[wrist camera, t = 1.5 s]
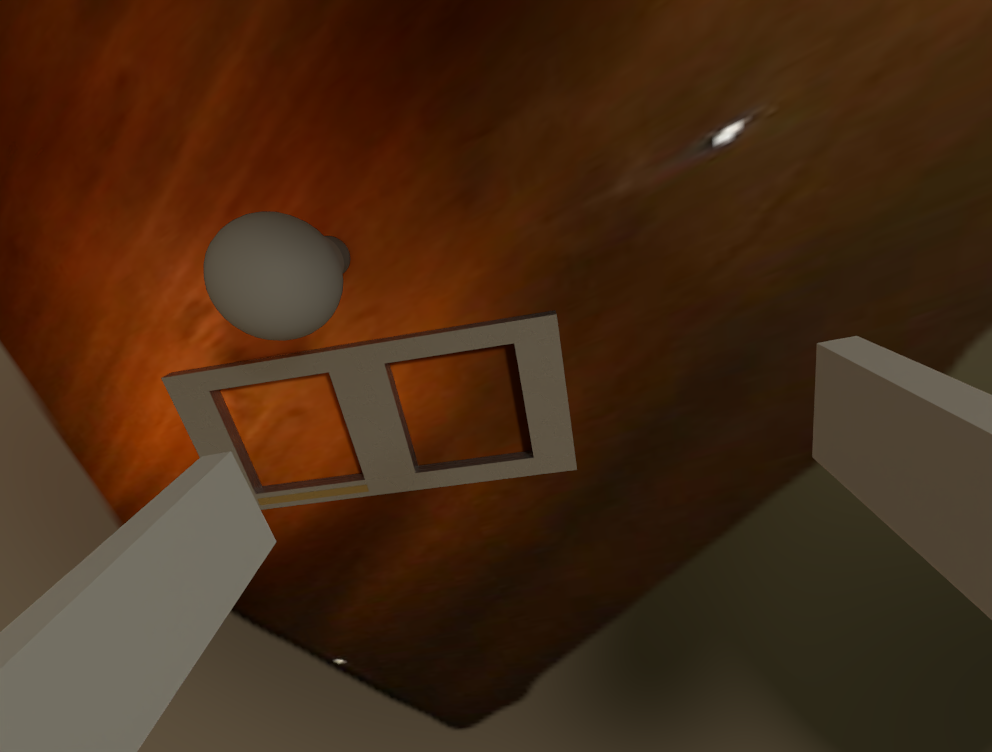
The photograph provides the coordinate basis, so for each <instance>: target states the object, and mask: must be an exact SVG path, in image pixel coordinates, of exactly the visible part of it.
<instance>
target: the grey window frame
mask: <svg viewBox="0 0 992 752" xmlns="http://www.w3.org/2000/svg"><path fill="white" fill-rule="evenodd" d="M513 343H514V345H515V350H516V356H517V362H518V368H519V374H520V380H521V386H522V391H523V397H524V403H525V409H526V415H527V421H528V427H529V432H530V438H531V444H532V450H533V451H526V452H518V453H511V454H503V455H496V456H488V457H481V458H473V459H466V460H458V461H450V462H443V463H435V464H428V465H420V466H418V463H417V460H416V456H415V452H414V449H413V445H412V442H411V438H410V435H409V431H408V428H407V424H406V421H405V417H404V414H403V410H402V407H401V403H400V399H399V396H398V392H397V389H396V385H395V382H394V378H393V375H392V371H391V368H390V364H389V363H391V362H398V361H404V360H410V359H417V358H423V357H430V356H436V355H442V354H449V353H455V352H461V351H468V350H474V349H481V348H487V347H493V346H500V345H506V344H513ZM327 372H329V374H330V377H331V380H332V383H333V386H334V389H335V392H336V395H337V398H338V401H339V404H340V407H341V410H342V413H343V416H344V419H345V422H346V425H347V428H348V431H349V433H350V436H351V439H352V442H353V445H354V448H355V451H356V454H357V457H358V460H359V463H360V466H361V469H362V472H363V473H360V474H352V475H345V476H337V477H329V478H322V479H314V480H307V481H299V482H292V483H284V484H277V485H269V486H262V485H261V483H260V481H259V479H258V476H257V474H256V472H255V470H254V467H253V465H252V463H251V460H250V458H249V456H248V454H247V451H246V449H245V447H244V445H243V442H242V440H241V438H240V436H239V433H238V431H237V429H236V427H235V424H234V422H233V420H232V418H231V415H230V413H229V411H228V408H227V406H226V404H225V402H224V399H223V397H222V395H221V393H220V390H219V389H225V388H231V387H238V386H244V385H251V384H257V383H263V382H270V381H276V380H283V379H289V378H295V377H302V376H308V375H314V374H321V373H327ZM161 379H162V381H163V383H164V385H165V387H166V389H167V391H168V393H169V395H170V397H171V399H172V401H173V403H174V405H175V407H176V409H177V411H178V413H179V415H180V417H181V420H182V422H183V424H184V426H185V428H186V430H187V432H188V434H189V436H190V438H191V440H192V442H193V444H194V446H195V448H196V450H197V452H198V454H199V456H200V458H201V457H202V456H208V455H213V454H219V453H224V452H229V451H231V452H232V454H233V456H234V458H235V460H236V462H237V464H238V466H239V468H240V470H241V472H242V474H243V476H244V478H245V480H246V482H247V484H248V486H249V488H250V490H251V492H252V494H253V496H254V498H255V500H256V502H257V504H258V506H259V508H260V510H262V509H270V508H278V507H286V506H294V505H302V504H310V503H318V502H326V501H333V500H341V499H349V498H357V497H365V496H373V495H381V494H389V493H397V492H404V491H412V490H420V489H428V488H436V487H444V486H452V485H460V484H467V483H475V482H483V481H491V480H499V479H507V478H515V477H523V476H531V475H538V474H546V473H554V472H562V471H570V470H577V467H576V459H575V452H574V444H573V436H572V429H571V421H570V414H569V406H568V398H567V391H566V383H565V375H564V368H563V360H562V353H561V345H560V337H559V330H558V322H557V314H556V311H555V310H554V311H548V312H542V313H536V314H529V315H523V316H517V317H511V318H505V319H499V320H492V321H486V322H480V323H474V324H468V325H462V326H456V327H449V328H443V329H437V330H431V331H425V332H419V333H412V334H406V335H400V336H394V337H388V338H382V339H375V340H369V341H363V342H357V343H351V344H345V345H338V346H332V347H326V348H320V349H314V350H308V351H301V352H295V353H289V354H283V355H277V356H271V357H264V358H258V359H252V360H246V361H240V362H234V363H227V364H221V365H215V366H209V367H203V368H197V369H190V370H184V371H178V372H172V373H169V374H168V375H166V376H164V377H162V378H161Z"/></svg>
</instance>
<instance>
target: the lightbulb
mask: <svg viewBox="0 0 992 752" xmlns="http://www.w3.org/2000/svg"><path fill="white" fill-rule="evenodd" d="M349 264H350V253H349V250H348V248H347V247H346V245H345V244H344V243H343V242H342V241H341V240H339V239H338V238H336V237H332V236H323V235H322V234H321V233H320V232H319V231H318V230H317V229H316V228H314V227H313V226H311V225H310V224H308V223H307V222H305V221H303V220H300V219H298V218H296V217H293V216H291V215H287V214H283V213H279V212H256V213H251V214H246V215H243V216H241V217H239V218H237V219H234V220H233V221H231V222H229V223H228V224H227V225H226V226H224V227H223V228H222V229H221V230H220V231H219V232H218V233H217V235H216V236H215V237H214V239H213V240H212V241H211V242H210V244H209V247H208V249H207V251H206V254H205V260H204V280H205V285H206V289H207V292H208V294H209V297H210V299H211V301H212V302H213V304H214V306H215V307H216V309H217V310H218V311H219V312H220V313H221V315H222V316H223V317H224V318H225V319H226V320H228V321H229V322H230V323H231V324H232V325H234V326H235V327H237V328H238V329H240V330H242V331H243V332H245V333H247V334H250V335H252V336H255V337H257V338H262V339H267V340H291V339H297V338H300V337H303V336H306V335H308V334H311V333H313V332H314V331H316V330H317V329H319V328H320V327H322V326H323V325H324V324H325V323H326V322H327V321H328V320H329V319H330V318H331V317H332V315H333V313H334V312H335V310H336V308H337V306H338V304H339V301H340V298H341V295H342V289H343V275H342V274H343V273H344V272H345V271H346V270H347V269H348V267H349Z"/></svg>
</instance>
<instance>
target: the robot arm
mask: <svg viewBox="0 0 992 752" xmlns="http://www.w3.org/2000/svg"><path fill="white" fill-rule="evenodd" d="M812 457H813V458H814V459H815V460H816V461H817V462H818V463H820V464H821V465H822V466H823V467H824V468H825V469H826V470H827V471H828V472H829V473H831V474H832V475H833V476H834V477H835V478H836V479H837V480H838V481H839V482H840V483H842V484H843V485H844V486H845V487H846V488H847V489H848V490H849V491H850V492H851V493H853V494H854V495H855V496H856V497H857V498H858V499H859V500H860V501H861V502H863V503H864V504H865V505H866V506H867V507H868V508H869V509H870V510H871V511H872V512H874V513H875V514H876V515H877V516H878V517H879V518H880V519H881V520H882V521H883V522H885V523H886V524H887V525H888V526H889V527H890V528H891V529H892V530H893V531H894V532H896V533H897V534H898V535H899V536H900V537H901V538H902V539H903V540H904V541H905V542H907V543H908V544H909V545H910V546H911V547H912V548H913V549H914V550H915V551H917V552H918V553H919V554H920V555H921V556H922V557H923V558H924V559H925V560H926V561H928V562H929V563H930V564H931V565H932V566H933V567H934V568H935V569H936V570H937V571H939V572H940V573H941V574H942V575H943V576H944V577H945V578H946V579H948V581H950V582H951V583H952V584H953V585H954V586H955V587H956V588H957V589H958V590H959V591H961V592H962V593H963V594H964V595H965V596H966V597H967V598H968V599H969V600H971V601H972V602H973V603H974V604H975V605H976V606H977V607H978V608H979V609H980V610H982V611H983V612H984V613H985V614H986V615H987V616H988V617H989V618H990V619H991V620H992V395H990V394H988V393H986V392H984V391H981V390H979V389H977V388H974V387H972V386H970V385H967V384H965V383H963V382H960V381H959V380H956V379H954V378H952V377H949V376H947V375H945V374H943V373H940V372H938V371H936V370H933V369H931V368H929V367H927V366H924V365H922V364H920V363H917V362H915V361H913V360H911V359H908V358H906V357H904V356H901V355H899V354H897V353H895V352H892V351H890V350H888V349H885V348H883V347H881V346H879V345H876V344H874V343H872V342H870V341H867V340H865V339H863V338H860V337H858V336H854V337H848V338H843V339H837V340H832V341H827V342H821V343H817V354H816V379H815V403H814V428H813V453H812ZM275 543H276V540H275V538H274V536H273V534H272V532H271V530H270V528H269V526H268V524H267V522H266V520H265V518H264V516H263V514H262V512H261V510H260V508H259V506H258V504H257V502H256V500H255V498H254V496H253V494H252V492H251V490H250V488H249V486H248V484H247V482H246V480H245V478H244V476H243V474H242V472H241V470H240V468H239V466H238V464H237V462H236V460H235V458H234V456H233V454H232V452H231V451H229V452H224V453H219V454H213V455H208V456H202V457H201V458H200V459H198V460H197V461H196V462H195V463H194V464H193V465H192V466H190V467H189V468H188V469H187V470H186V471H185V472H183V473H182V474H181V475H180V476H179V477H178V478H177V479H175V480H174V481H173V482H172V483H171V484H170V485H169V486H167V487H166V488H165V489H164V490H163V491H162V492H161V493H159V494H158V495H157V496H156V497H155V498H154V499H153V500H151V501H150V502H149V503H148V504H147V505H146V506H144V507H143V508H142V509H141V510H140V511H139V512H138V513H136V514H135V515H134V516H133V517H132V518H131V519H130V520H128V521H127V522H126V523H125V524H124V525H123V526H122V527H120V528H119V529H118V530H117V531H116V532H115V533H114V534H112V535H111V536H110V537H109V538H108V539H107V540H105V541H104V542H103V543H102V544H101V545H100V546H99V547H97V548H96V549H95V550H94V551H93V552H92V553H91V554H89V555H88V556H87V557H86V558H85V559H84V560H83V561H81V562H80V563H79V564H78V565H77V566H76V567H75V568H73V569H72V570H71V571H70V572H69V573H68V574H67V575H65V576H64V577H63V578H62V579H61V580H60V581H58V582H57V583H56V584H55V585H54V586H53V587H52V588H51V589H49V590H48V591H47V592H46V593H45V594H44V595H42V596H41V597H40V598H39V599H38V600H37V601H36V602H34V603H33V604H32V605H31V606H30V607H29V608H28V609H26V610H25V611H24V612H23V613H22V614H21V615H20V616H18V617H17V618H16V619H15V620H14V621H13V622H11V623H10V624H9V625H8V626H7V627H6V628H5V629H3V631H1V632H0V752H137V751H138V749H139V748H140V746H141V745H142V743H143V742H144V740H145V739H146V737H147V736H148V734H149V733H150V731H151V730H152V728H153V727H154V725H155V724H156V722H157V721H158V719H159V718H160V716H161V715H162V713H163V712H164V710H165V709H166V707H167V706H168V704H169V703H170V701H171V700H172V698H173V697H174V695H175V694H176V692H177V691H178V689H179V688H180V686H181V685H182V683H183V682H184V680H185V679H186V677H187V675H188V674H189V672H190V671H191V670H192V668H193V666H194V665H195V663H196V662H197V661H198V659H199V658H200V656H201V654H202V653H203V652H204V650H205V648H206V647H207V645H208V644H209V642H210V641H211V639H212V638H213V636H214V635H215V633H216V632H217V630H218V629H219V627H220V626H221V624H222V623H223V621H224V620H225V618H226V617H227V615H228V614H229V612H230V611H231V609H232V608H233V606H234V605H235V603H236V602H237V600H238V599H239V597H240V596H241V594H242V593H243V591H244V590H245V588H246V587H247V585H248V584H249V582H250V581H251V579H252V578H253V576H254V575H255V573H256V572H257V570H258V569H259V567H260V566H261V564H262V563H263V561H264V560H265V558H266V557H267V555H268V554H269V552H270V551H271V549H272V548H273V546H274V545H275Z"/></svg>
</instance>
